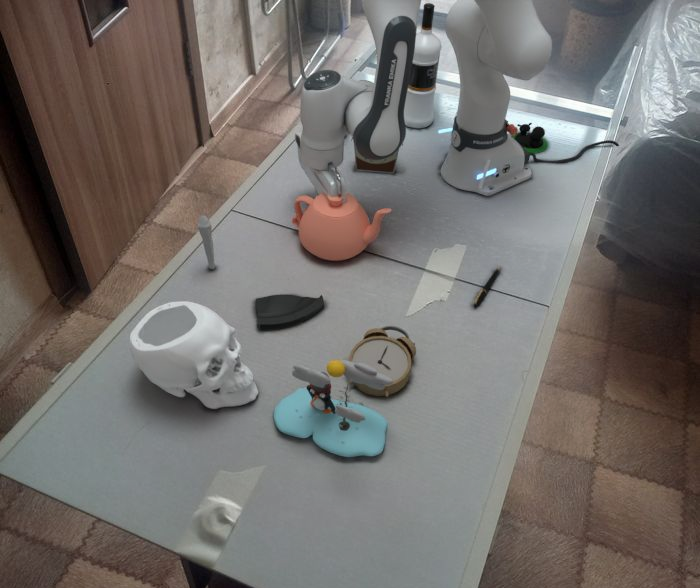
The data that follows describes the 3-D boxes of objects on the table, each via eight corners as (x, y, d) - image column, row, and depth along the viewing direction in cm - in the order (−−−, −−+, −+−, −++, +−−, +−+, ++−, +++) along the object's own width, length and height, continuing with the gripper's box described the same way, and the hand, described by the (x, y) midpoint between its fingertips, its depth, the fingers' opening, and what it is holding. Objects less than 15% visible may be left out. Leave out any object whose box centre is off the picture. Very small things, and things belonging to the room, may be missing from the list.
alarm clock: (338, 375, 116) (370, 310, 123) (339, 388, 120) (370, 324, 127) (397, 396, 113) (426, 328, 120) (397, 409, 118) (425, 342, 125)
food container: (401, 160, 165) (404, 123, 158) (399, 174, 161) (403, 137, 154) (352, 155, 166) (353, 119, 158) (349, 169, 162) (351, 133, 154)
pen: (216, 273, 136) (207, 219, 126) (203, 271, 137) (193, 217, 126) (220, 265, 138) (211, 211, 127) (208, 263, 138) (198, 209, 128)
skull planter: (247, 428, 109) (185, 346, 98) (166, 425, 120) (101, 350, 109) (283, 369, 118) (230, 287, 107) (204, 371, 129) (148, 297, 118)
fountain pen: (497, 267, 140) (498, 262, 139) (502, 269, 140) (504, 264, 139) (470, 308, 132) (472, 303, 131) (476, 310, 132) (477, 305, 131)
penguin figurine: (264, 429, 112) (257, 373, 100) (293, 384, 118) (290, 327, 107) (372, 473, 107) (378, 421, 95) (396, 424, 113) (405, 369, 102)
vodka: (402, 109, 181) (414, -6, 159) (435, 114, 180) (452, -1, 157) (395, 126, 175) (406, 9, 153) (429, 132, 174) (445, 15, 151)
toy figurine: (533, 129, 177) (538, 109, 172) (555, 148, 171) (561, 128, 167) (502, 136, 174) (506, 116, 170) (523, 156, 168) (528, 136, 164)
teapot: (397, 234, 146) (402, 188, 137) (375, 279, 137) (379, 232, 127) (306, 211, 151) (305, 164, 141) (278, 253, 141) (275, 205, 132)
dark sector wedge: (328, 324, 128) (328, 318, 127) (258, 331, 126) (257, 325, 125) (322, 294, 133) (322, 288, 132) (254, 300, 131) (254, 294, 130)
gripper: (356, 175, 131) (353, 230, 142) (319, 124, 143) (319, 177, 154) (326, 182, 130) (326, 236, 140) (292, 129, 142) (294, 183, 152)
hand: (322, 205), depth 147 cm, fingers closed
